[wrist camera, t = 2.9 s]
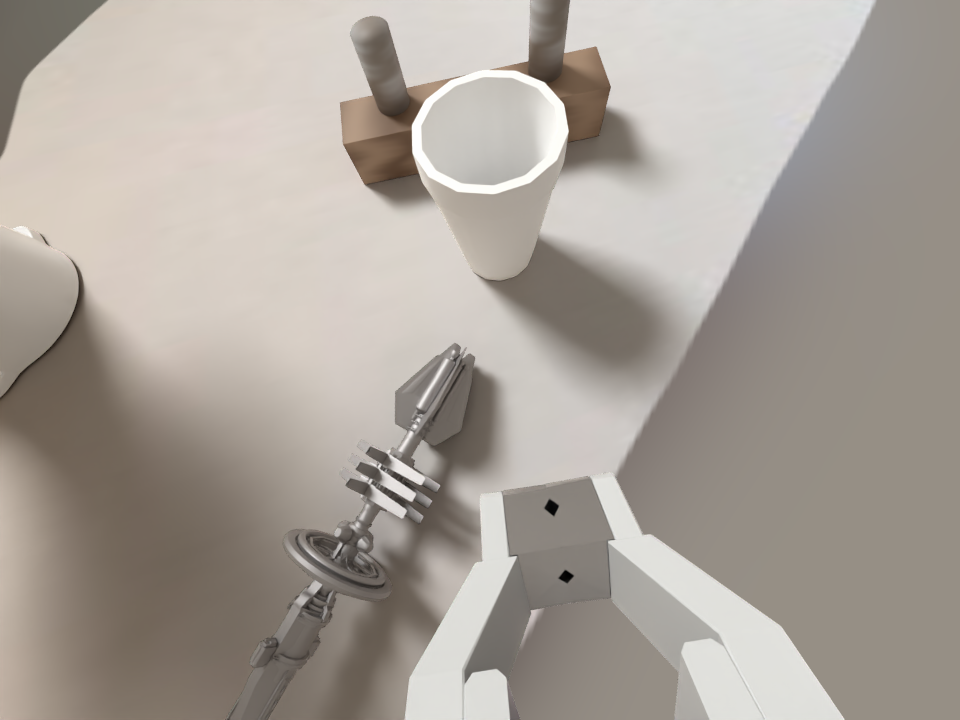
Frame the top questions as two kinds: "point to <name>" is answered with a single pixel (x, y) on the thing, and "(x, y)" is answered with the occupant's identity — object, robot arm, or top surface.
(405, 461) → the spaceship
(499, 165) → the foam cup
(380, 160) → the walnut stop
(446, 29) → the top surface
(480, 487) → the top surface
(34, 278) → the robot arm
